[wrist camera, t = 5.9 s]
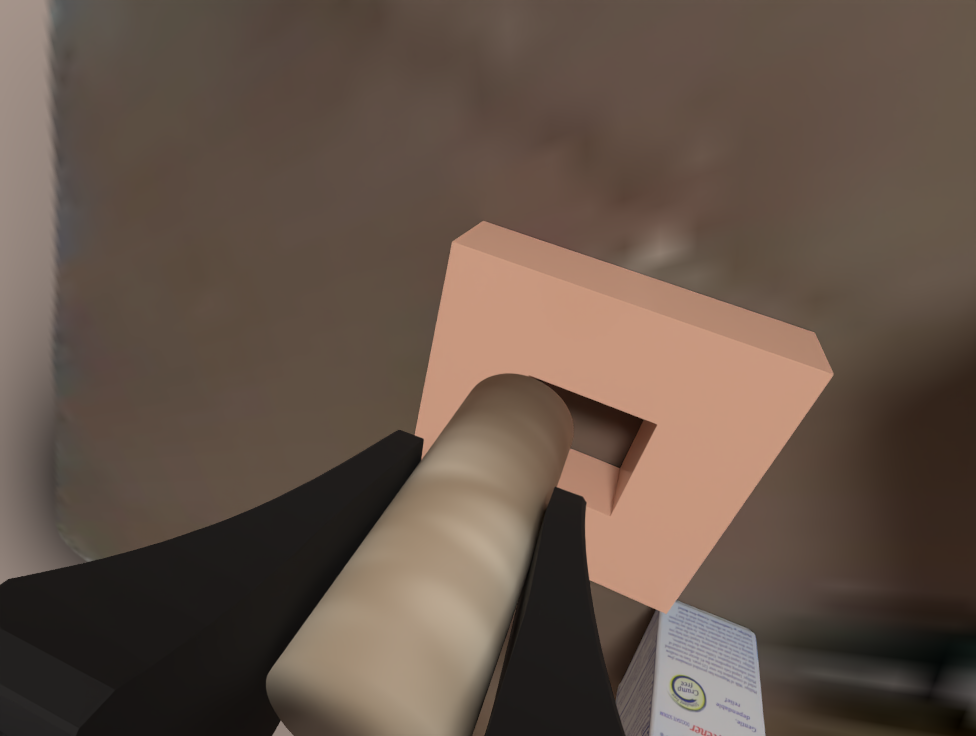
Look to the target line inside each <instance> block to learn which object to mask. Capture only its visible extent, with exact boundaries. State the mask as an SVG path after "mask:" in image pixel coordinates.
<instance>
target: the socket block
mask: <svg viewBox="0 0 976 736" xmlns="http://www.w3.org/2000/svg"><path fill="white" fill-rule="evenodd" d="M505 373H513V374H521V375H525V376H529V377H531V378H534V379H536V378H538V379H540V380H543V381H545V382H548V383H551V384H553V385H556V386H558V387H561V388H564V389H566V390H569V391H571V392H574V393H577V394H579V395H582V396H584V397H587V398H590V399H592V400H595V401H598V402H600V403H603V404H605V405H608V406H611V407H613V408H616V409H618V410H621V411H624V412H626V413H629V414H631V415H634V416H637V417H639V418H642V419H644V420H643V422H642V424H641V426H640V428H639V430H638V433H637V435H636V437H635V439H634V441H633V443H632V445H631V447H630V449H629V451H628V453H627V455H626V457H625V459H624V461H623V463H622V465H621V467H620V468H618V467H615V466H613V465H610V464H608V463H605V462H603V461H600V460H598V459H595V458H593V457H590V456H588V455H585V454H583V453H581V452H578V451H576V450H573V449H571V448H570V450H569V453H568V456H567V459H566V462H565V465H564V468H563V471H562V474H561V477H560V479H559V482H558V485H557V487H558V488H561V489H563V490H566V491H569V492H572V493H574V494H577V495H580V496H583V497H584V499H585V501H586V502H587V504H586V514H585V539H586V555H587V565H588V573H589V580H591V581H593V582H595V583H598V584H600V585H602V586H604V587H607V588H609V589H611V590H613V591H616V592H618V593H620V594H622V595H625V596H627V597H629V598H631V599H634V600H636V601H638V602H640V603H643V604H645V605H647V606H649V607H652V608H654V609H656V610H659V611H661V612H663V613H665V614H667V613H668V611H669V610H670V608H671V607H672V606H673V604H674V603H675V601H676V600H677V598H678V597H679V596H680V594H681V593H682V591H683V590H684V588H685V587H686V585H687V584H688V583H689V581H690V580H691V578H692V577H693V575H694V574H695V573H696V571H697V570H698V568H699V567H700V565H701V564H702V563H703V561H704V560H705V558H706V557H707V555H708V554H709V553H710V551H711V550H712V548H713V547H714V545H715V544H716V543H717V541H718V540H719V538H720V537H721V535H722V534H723V532H724V531H725V530H726V528H727V527H728V525H729V524H730V522H731V521H732V520H733V518H734V517H735V515H736V514H737V512H738V511H739V510H740V508H741V507H742V505H743V504H744V502H745V501H746V500H747V498H748V497H749V495H750V494H751V492H752V491H753V490H754V488H755V487H756V485H757V484H758V482H759V481H760V479H761V478H762V477H763V475H764V474H765V472H766V471H767V469H768V468H769V467H770V465H771V464H772V462H773V461H774V459H775V458H776V457H777V455H778V454H779V452H780V451H781V449H782V448H783V447H784V445H785V444H786V442H787V441H788V439H789V438H790V437H791V435H792V434H793V432H794V431H795V429H796V428H797V427H798V425H799V424H800V422H801V421H802V419H803V418H804V416H805V415H806V414H807V412H808V411H809V409H810V408H811V406H812V405H813V404H814V402H815V401H816V399H817V398H818V396H819V395H820V394H821V392H822V391H823V389H824V388H825V386H826V385H827V384H828V382H829V381H830V379H831V378H832V376H833V375H834V374H833V371H832V369H831V367H830V365H829V363H828V361H827V358H826V356H825V354H824V352H823V350H822V348H821V345H820V343H819V341H818V339H817V337H816V335H815V333H814V332H811V331H808V330H805V329H802V328H799V327H797V326H794V325H791V324H788V323H785V322H782V321H779V320H776V319H773V318H770V317H767V316H764V315H761V314H758V313H755V312H752V311H749V310H746V309H743V308H740V307H737V306H734V305H731V304H728V303H725V302H722V301H719V300H716V299H713V298H711V297H708V296H705V295H702V294H699V293H696V292H693V291H690V290H687V289H684V288H681V287H678V286H675V285H672V284H669V283H666V282H663V281H660V280H657V279H654V278H651V277H648V276H645V275H642V274H639V273H636V272H633V271H630V270H627V269H625V268H622V267H619V266H616V265H613V264H610V263H607V262H604V261H601V260H598V259H595V258H592V257H589V256H586V255H583V254H580V253H577V252H574V251H571V250H568V249H565V248H562V247H559V246H556V245H553V244H550V243H547V242H544V241H541V240H538V239H536V238H533V237H530V236H527V235H524V234H521V233H518V232H515V231H512V230H509V229H506V228H503V227H500V226H497V225H494V224H491V223H488V222H485V221H482V222H481V223H479V224H478V225H476V226H475V227H473V228H472V229H470V230H469V231H467V232H466V233H464V234H463V235H462V236H460V237H459V238H457V239H456V240H454V241H453V242H452V246H451V251H450V256H449V261H448V267H447V272H446V277H445V282H444V287H443V292H442V297H441V303H440V308H439V313H438V318H437V323H436V328H435V333H434V339H433V344H432V349H431V354H430V359H429V364H428V369H427V375H426V380H425V385H424V390H423V395H422V400H421V405H420V411H419V416H418V421H417V426H416V431H415V436H418V437H421V438H423V439H424V443H423V451H422V459H423V457H424V456H425V454H426V453H427V452H428V450H429V449H430V447H431V446H432V445H433V443H434V442H435V441H436V439H437V438H438V436H439V435H440V434H441V432H442V431H443V429H444V428H445V427H446V425H447V424H448V422H449V421H450V420H451V418H452V417H453V415H454V414H455V413H456V411H457V410H458V409H459V407H460V406H461V404H462V403H463V402H464V400H465V399H466V397H467V396H468V395H469V393H470V392H471V390H472V389H473V388H474V387H475V386H476V385H477V384H478V383H479V382H481V381H482V380H484V379H486V378H488V377H491V376H493V375H498V374H505ZM422 459H421V460H422Z"/></svg>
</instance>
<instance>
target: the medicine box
mask: <svg viewBox="0 0 976 736" xmlns="http://www.w3.org/2000/svg"><path fill="white" fill-rule="evenodd" d="M616 706H617V709H618V713H619V716H620V719H621V723H622V726H623V729H624V732H625V735H626V736H765V726H764V717H763V706H762V695H761V684H760V674H759V663H758V653H757V642H756V636H755V634H754V633H753V632H751V631H750V630H749V629H748V628H745V627H742V626H740V625H738V624H735V623H732V622H730V621H728V620H725V619H723V618H720V617H718V616H716V615H713V614H710V613H708V612H705V611H702V610H700V609H697V608H695V607H692V606H690V605H687V604H685V603H682V602H679V601H675V603H674V604H673V606H672V607H671V608H670V610H669V611H668V613H667V614H665V613H663V612H661V611H659V610H656V611H655V613H654V615H653V617H652V619H651V621H650V623H649V625H648V627H647V629H646V632H645V634H644V636H643V638H642V640H641V642H640V644H639V646H638V648H637V650H636V652H635V654H634V656H633V659H632V661H631V663H630V665H629V667H628V669H627V671H626V673H625V675H624V677H623V679H622V681H621V683H620V684H619V686H618V690H617V696H616Z"/></svg>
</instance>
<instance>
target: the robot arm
mask: <svg viewBox="0 0 976 736" xmlns="http://www.w3.org/2000/svg"><path fill="white" fill-rule="evenodd" d="M423 443H424V439H423V438H421V437H418V436H415V435H412V434H410V433H407V432H404V431H401V430H398V431H396V432H394V433H392V434H390V435H389V436H387V437H385V438H384V439H382V440H380V441H379V442H377V443H376V444H374V445H372V446H371V447H369V448H367V449H366V450H364V451H362V452H361V453H359V454H357V455H356V456H354V457H352V458H350V459H349V460H347V461H345V462H344V463H342V464H340V465H338V466H336V467H335V468H333V469H331V470H329V471H328V472H326V473H324V474H322V475H320V476H319V477H317V478H315V479H313V480H311V481H309V482H307V483H305V484H303V485H301V486H299V487H297V488H295V489H293V490H291V491H289V492H287V493H285V494H283V495H281V496H279V497H277V498H275V499H273V500H271V501H269V502H267V503H264V504H262V505H260V506H258V507H255V508H253V509H251V510H249V511H246V512H244V513H241V514H239V515H236V516H234V517H232V518H229V519H227V520H224V521H221V522H219V523H216V524H213V525H211V526H208V527H205V528H202V529H199V530H196V531H193V532H190V533H187V534H185V535H182V536H179V537H176V538H173V539H170V540H167V541H164V542H161V543H157V544H154V545H150V546H147V547H144V548H140V549H137V550H133V551H130V552H126V553H122V554H118V555H114V556H111V557H107V558H103V559H99V560H95V561H91V562H87V563H83V564H78V565H74V566H69V567H64V568H60V569H55V570H50V571H46V572H41V573H36V574H32V575H27V576H22V577H17V578H12V579H8V580H7V581H5V582H4V583H2V584H1V585H0V736H272V735H273V733H274V731H275V730H276V728H277V726H278V724H279V722H280V721H281V720H280V718H279V717H278V715H277V714H276V712H275V711H274V709H273V707H272V705H271V703H270V701H269V698H268V695H267V690H266V679H267V675H268V673H269V672H270V670H271V668H272V667H273V666H274V664H275V663H276V662H277V660H278V659H279V657H280V656H281V655H282V653H283V652H284V650H285V649H286V648H287V646H288V645H289V643H290V642H291V641H292V639H293V638H294V636H295V635H296V634H297V632H298V631H299V630H300V628H301V627H302V625H303V624H304V623H305V621H306V620H307V618H308V617H309V616H310V614H311V613H312V611H313V610H314V609H315V607H316V606H317V605H318V603H319V602H320V600H321V599H322V598H323V596H324V595H325V593H326V592H327V591H328V589H329V588H330V586H331V585H332V584H333V582H334V581H335V580H336V578H337V577H338V575H339V574H340V573H341V571H342V570H343V568H344V567H345V566H346V564H347V563H348V561H349V560H350V559H351V557H352V556H353V554H354V553H355V552H356V550H357V549H358V548H359V546H360V545H361V543H362V542H363V541H364V539H365V538H366V536H367V535H368V534H369V532H370V531H371V529H372V528H373V527H374V525H375V524H376V523H377V521H378V520H379V518H380V517H381V516H382V514H383V513H384V511H385V510H386V509H387V507H388V506H389V504H390V503H391V502H392V500H393V499H394V498H395V496H396V495H397V493H398V492H399V491H400V489H401V488H402V486H403V485H404V484H405V482H406V481H407V479H408V478H409V477H410V475H411V474H412V472H413V471H414V470H415V468H416V467H417V466H418V464H419V463H420V461H421V459H422V451H423ZM586 504H587V502H586V501H585V499H584V497H583V496H580V495H577V494H574V493H572V492H569V491H566V490H563V489H561V488H558V487H554V490H553V493H552V496H551V498H550V501H549V504H548V507H547V509H546V513H545V516H544V519H543V522H542V525H541V529H540V532H539V535H538V538H537V541H536V544H535V548H534V552H533V556H532V560H531V563H530V567H529V570H528V573H527V576H526V579H525V582H524V585H523V588H522V591H521V594H520V597H519V600H518V604H517V608H516V613H515V617H514V621H513V625H512V629H511V634H510V638H509V642H508V646H507V651H506V655H505V659H504V663H503V668H502V672H501V676H500V680H499V684H498V689H497V693H496V697H495V701H494V705H493V709H492V712H491V716H490V719H489V723H488V726H487V730H486V733H485V736H626V735H625V732H624V729H623V726H622V723H621V719H620V716H619V713H618V709H617V706H616V702H615V699H614V696H613V692H612V689H611V685H610V681H609V677H608V673H607V669H606V666H605V661H604V657H603V653H602V649H601V644H600V639H599V635H598V630H597V624H596V619H595V614H594V608H593V602H592V596H591V589H590V581H589V573H588V565H587V555H586V539H585V514H586Z"/></svg>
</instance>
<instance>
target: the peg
mask: <svg viewBox="0 0 976 736" xmlns="http://www.w3.org/2000/svg"><path fill="white" fill-rule="evenodd" d="M573 437H574V425H573V420H572V416H571V414H570V411H569V409H568V408H567V406H566V404H565V403H564V401H563V400H562V399H561V397H560V396H559V395H558V394H557V393H556V392H555V391H553V390H552V389H551V388H550V387H548V386H547V385H545V384H544V383H542V382H540V381H538V380H536V379H534V378H531V377H529V376H525V375H521V374H513V373H505V374H498V375H493V376H491V377H488V378H486V379H484V380H482V381H481V382H479V383H478V384H477V385H476V386H475V387H474V388H473V389H472V390H471V392H470V393H469V395H468V396H467V397H466V399H465V400H464V402H463V403H462V404H461V406H460V407H459V409H458V410H457V411H456V413H455V414H454V415H453V417H452V418H451V420H450V421H449V422H448V424H447V425H446V427H445V428H444V429H443V431H442V432H441V434H440V435H439V436H438V438H437V439H436V441H435V442H434V443H433V445H432V446H431V447H430V449H429V450H428V452H427V453H426V454H425V456H424V457H423V459H422V460H421V461H420V463H419V464H418V466H417V467H416V468H415V470H414V471H413V472H412V474H411V475H410V477H409V478H408V479H407V481H406V482H405V484H404V485H403V486H402V488H401V489H400V491H399V492H398V493H397V495H396V496H395V498H394V499H393V500H392V502H391V503H390V504H389V506H388V507H387V509H386V510H385V511H384V513H383V514H382V516H381V517H380V518H379V520H378V521H377V523H376V524H375V525H374V527H373V528H372V529H371V531H370V532H369V534H368V535H367V536H366V538H365V539H364V541H363V542H362V543H361V545H360V546H359V548H358V549H357V550H356V552H355V553H354V554H353V556H352V557H351V559H350V560H349V561H348V563H347V564H346V566H345V567H344V568H343V570H342V571H341V573H340V574H339V575H338V577H337V578H336V580H335V581H334V582H333V584H332V585H331V586H330V588H329V589H328V591H327V592H326V593H325V595H324V596H323V598H322V599H321V600H320V602H319V603H318V605H317V606H316V607H315V609H314V610H313V611H312V613H311V614H310V616H309V617H308V618H307V620H306V621H305V623H304V624H303V625H302V627H301V628H300V630H299V631H298V632H297V634H296V635H295V636H294V638H293V639H292V641H291V642H290V643H289V645H288V646H287V648H286V649H285V650H284V652H283V653H282V655H281V656H280V657H279V659H278V660H277V662H276V663H275V664H274V666H273V667H272V668H271V670H270V672H269V673H268V675H267V679H266V690H267V695H268V698H269V701H270V703H271V705H272V707H273V709H274V711H275V712H276V714H277V715H278V717H279V718H280V720H281V721H282V722H283V723H284V725H285V726H286V728H287V729H288V730H289V731H290V732H291V733H292V734H293V735H294V736H472V734H473V731H474V728H475V725H476V723H477V720H478V717H479V714H480V711H481V708H482V705H483V702H484V699H485V696H486V693H487V690H488V687H489V684H490V682H491V679H492V676H493V673H494V670H495V667H496V664H497V661H498V658H499V655H500V652H501V649H502V646H503V643H504V641H505V638H506V635H507V632H508V629H509V626H510V623H511V620H512V617H513V614H514V611H515V608H516V605H517V602H518V600H519V597H520V594H521V591H522V588H523V585H524V582H525V579H526V576H527V573H528V570H529V567H530V563H531V560H532V556H533V552H534V548H535V544H536V541H537V538H538V535H539V532H540V529H541V525H542V522H543V519H544V516H545V513H546V509H547V507H548V504H549V501H550V498H551V496H552V493H553V490H554V487H557V485H558V482H559V479H560V477H561V474H562V471H563V468H564V465H565V462H566V459H567V456H568V453H569V450H570V447H571V444H572V441H573Z"/></svg>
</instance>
